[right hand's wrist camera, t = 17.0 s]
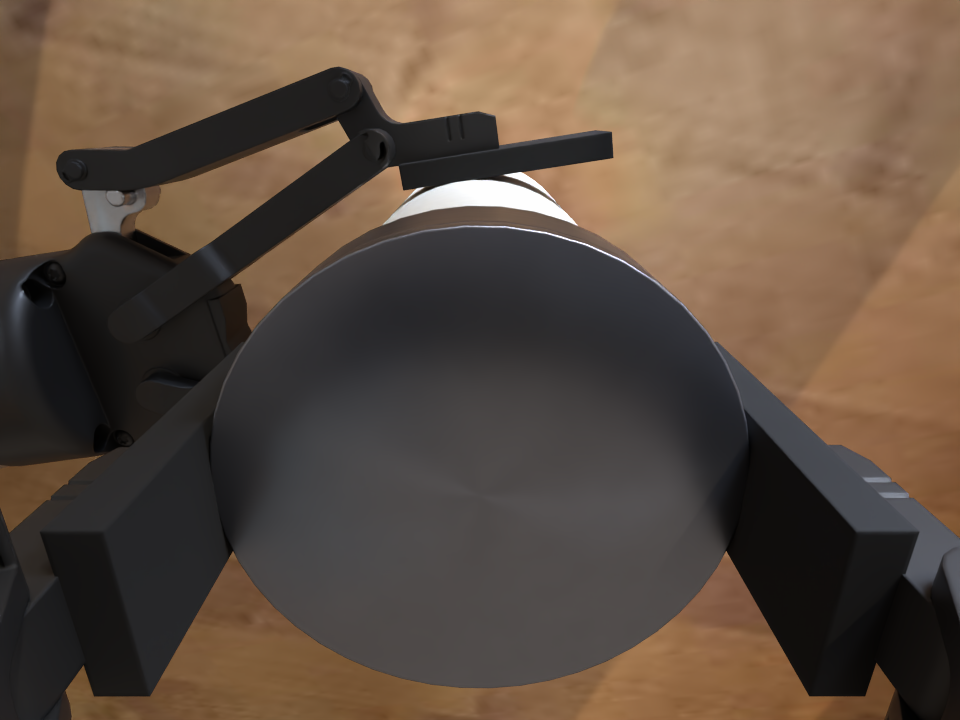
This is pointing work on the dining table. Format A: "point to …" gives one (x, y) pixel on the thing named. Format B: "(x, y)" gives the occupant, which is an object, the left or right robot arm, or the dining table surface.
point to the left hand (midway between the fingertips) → (612, 278)
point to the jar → (483, 196)
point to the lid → (479, 450)
